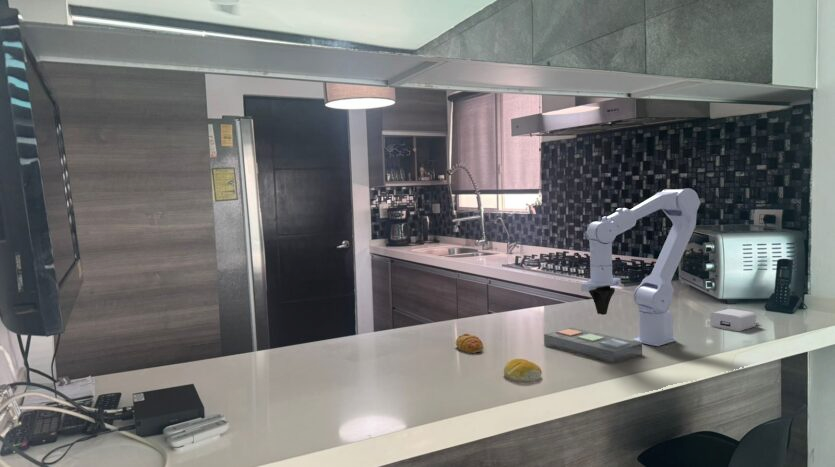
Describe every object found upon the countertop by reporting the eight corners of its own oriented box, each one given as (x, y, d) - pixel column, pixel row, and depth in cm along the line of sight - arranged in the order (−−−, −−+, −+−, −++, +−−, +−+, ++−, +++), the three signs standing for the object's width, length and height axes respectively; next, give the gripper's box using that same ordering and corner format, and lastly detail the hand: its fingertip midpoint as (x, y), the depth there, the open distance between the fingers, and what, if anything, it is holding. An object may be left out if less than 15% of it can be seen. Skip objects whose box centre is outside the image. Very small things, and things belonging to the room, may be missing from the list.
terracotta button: (568, 339, 161) (568, 328, 161) (582, 342, 157) (582, 332, 157) (556, 342, 158) (556, 331, 158) (570, 345, 154) (570, 335, 154)
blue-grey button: (612, 350, 148) (612, 339, 148) (628, 354, 144) (628, 342, 144) (600, 353, 146) (600, 342, 145) (616, 357, 142) (616, 346, 141)
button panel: (572, 337, 164) (572, 327, 164) (642, 354, 145) (642, 343, 145) (544, 344, 157) (544, 334, 157) (613, 363, 138) (613, 351, 138)
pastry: (489, 352, 152) (489, 339, 152) (467, 356, 150) (467, 342, 149) (474, 344, 161) (473, 331, 161) (453, 347, 158) (452, 334, 158)
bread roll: (525, 369, 137) (525, 353, 137) (547, 380, 128) (547, 363, 128) (496, 373, 134) (496, 357, 134) (516, 385, 125) (516, 367, 125)
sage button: (589, 344, 155) (589, 333, 154) (604, 348, 151) (604, 337, 150) (577, 347, 152) (577, 336, 152) (592, 351, 148) (592, 340, 148)
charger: (766, 324, 173) (740, 332, 164) (735, 319, 180) (710, 327, 172) (766, 309, 172) (740, 316, 164) (735, 305, 180) (710, 311, 172)
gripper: (605, 261, 160) (606, 307, 161) (571, 266, 151) (572, 315, 152) (627, 263, 154) (627, 311, 155) (593, 268, 146) (594, 319, 147)
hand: (601, 313), depth 153 cm, fingers closed
